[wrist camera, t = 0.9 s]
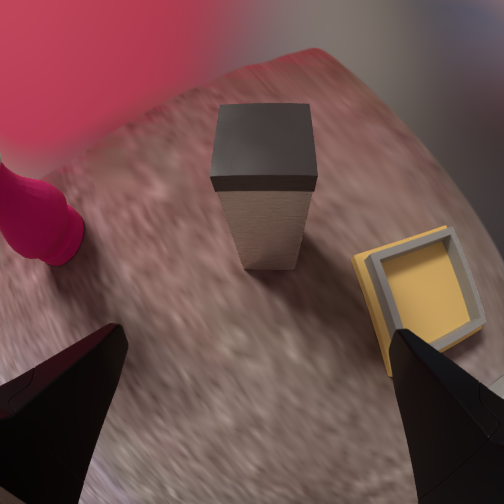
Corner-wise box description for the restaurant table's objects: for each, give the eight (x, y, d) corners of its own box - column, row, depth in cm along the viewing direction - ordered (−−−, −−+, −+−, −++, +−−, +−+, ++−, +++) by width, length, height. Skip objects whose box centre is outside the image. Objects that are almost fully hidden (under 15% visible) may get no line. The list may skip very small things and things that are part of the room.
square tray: (476, 329, 20) (493, 325, 17) (387, 376, 20) (401, 378, 17) (440, 229, 23) (454, 217, 21) (350, 259, 23) (359, 248, 20)
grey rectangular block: (295, 270, 23) (318, 175, 11) (243, 270, 23) (209, 175, 11) (294, 222, 24) (309, 103, 12) (245, 222, 25) (219, 105, 12)
